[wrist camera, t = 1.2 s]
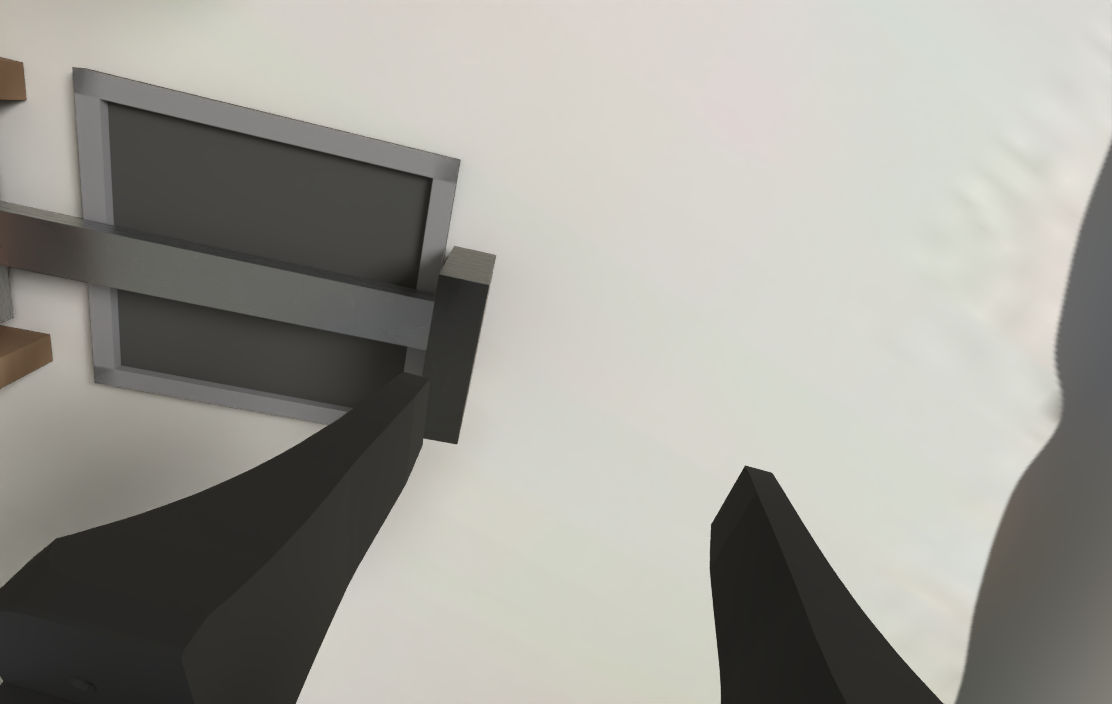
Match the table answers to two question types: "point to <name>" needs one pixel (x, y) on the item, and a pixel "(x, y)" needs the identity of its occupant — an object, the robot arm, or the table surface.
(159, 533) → the robot arm
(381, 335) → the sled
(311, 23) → the table surface
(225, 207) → the grey flat square panel
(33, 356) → the tunnel
